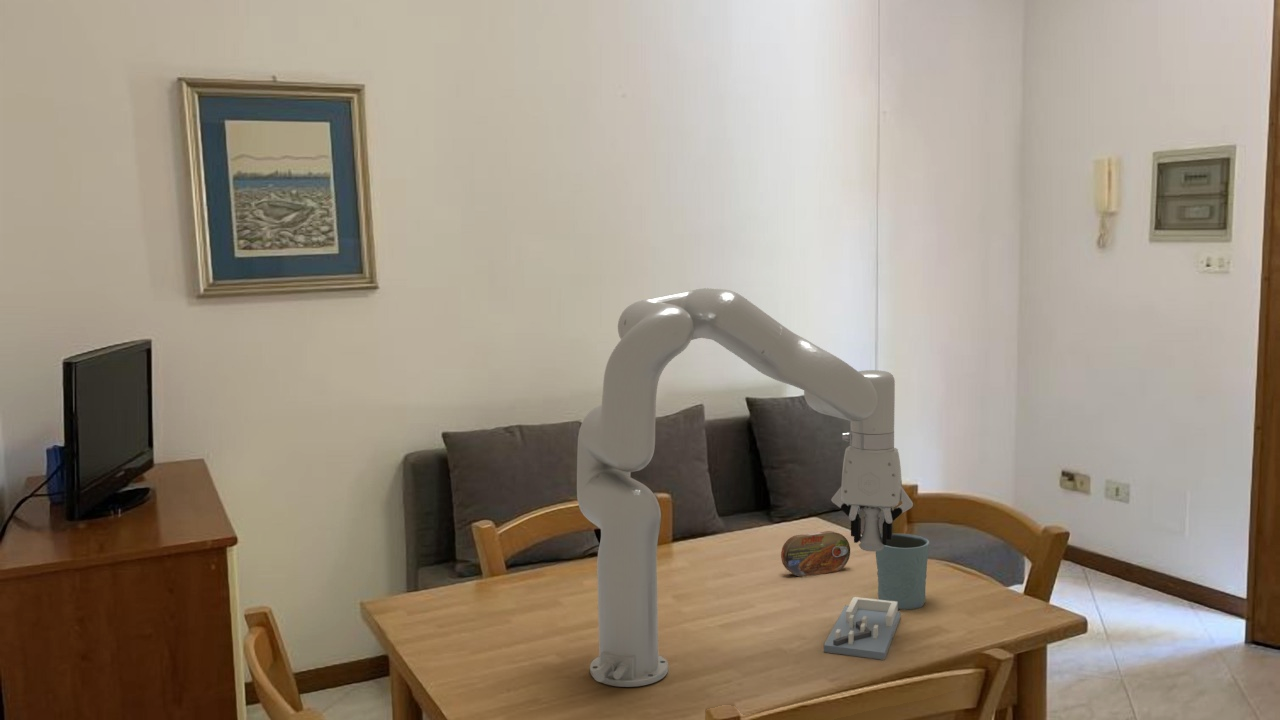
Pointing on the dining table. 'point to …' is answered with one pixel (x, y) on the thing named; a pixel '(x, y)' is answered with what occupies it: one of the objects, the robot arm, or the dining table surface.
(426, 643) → the dining table surface
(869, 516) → the rook chess piece
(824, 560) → the tin
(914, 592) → the teal cup
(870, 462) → the robot arm
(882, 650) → the board
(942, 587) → the dining table surface
